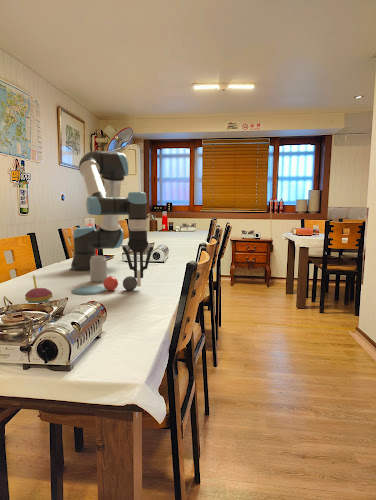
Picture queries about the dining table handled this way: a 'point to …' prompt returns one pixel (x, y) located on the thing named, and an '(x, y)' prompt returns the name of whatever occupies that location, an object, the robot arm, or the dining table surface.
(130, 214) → the robot arm
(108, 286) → the object ball
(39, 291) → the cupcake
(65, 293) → the dining table surface
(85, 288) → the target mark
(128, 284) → the dark grey ball
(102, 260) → the can
